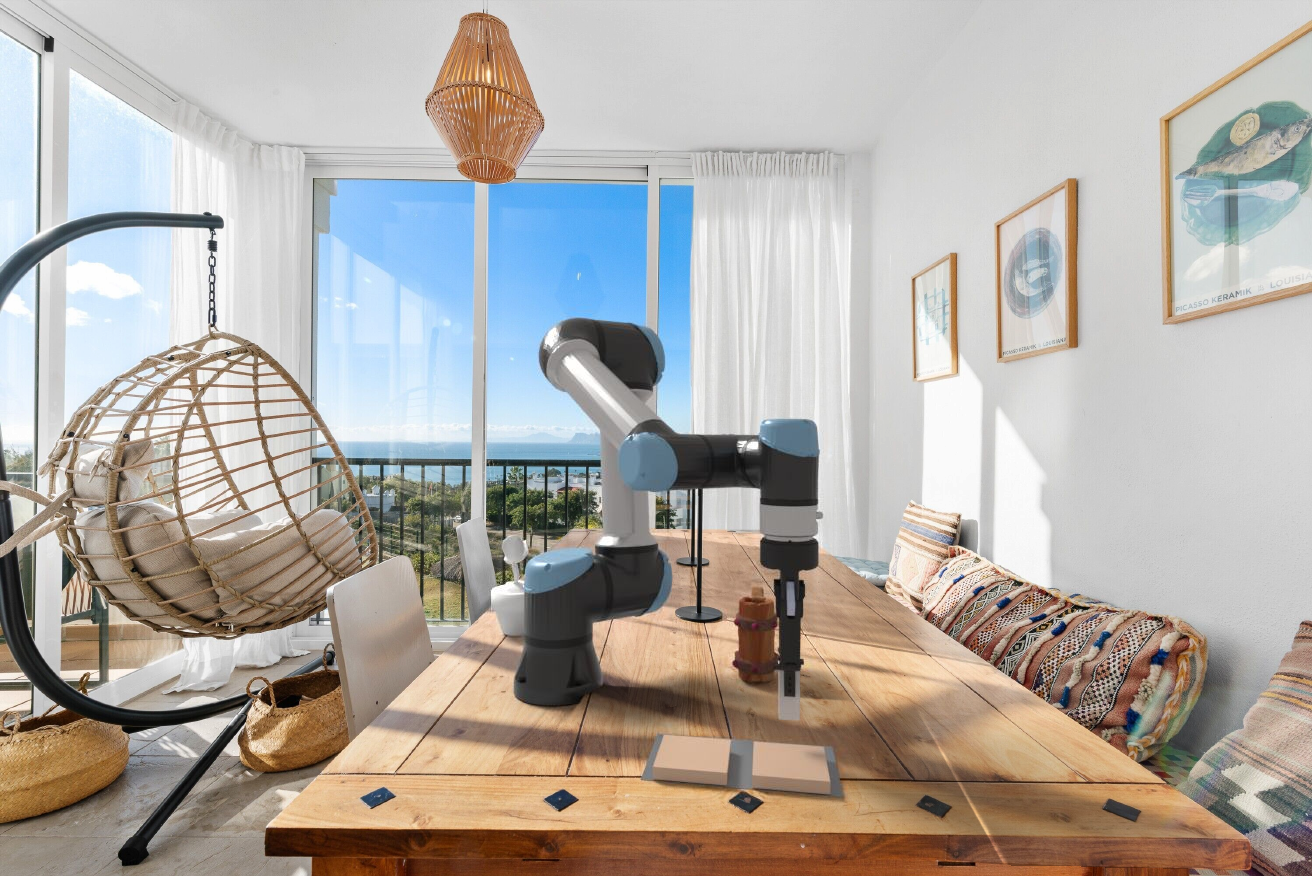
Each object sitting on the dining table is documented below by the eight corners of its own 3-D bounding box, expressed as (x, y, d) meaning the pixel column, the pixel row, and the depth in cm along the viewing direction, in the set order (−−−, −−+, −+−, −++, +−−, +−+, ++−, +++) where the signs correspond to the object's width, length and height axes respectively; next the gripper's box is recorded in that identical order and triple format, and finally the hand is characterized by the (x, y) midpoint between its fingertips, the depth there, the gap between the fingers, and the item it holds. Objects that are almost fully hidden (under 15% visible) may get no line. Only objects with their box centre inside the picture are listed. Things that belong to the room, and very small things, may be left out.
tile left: (663, 747, 90) (652, 780, 81) (664, 734, 90) (652, 766, 81) (730, 752, 88) (727, 786, 79) (730, 739, 88) (726, 773, 79)
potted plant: (534, 642, 141) (534, 524, 141) (482, 639, 143) (482, 522, 143) (552, 625, 153) (553, 517, 154) (504, 623, 155) (505, 516, 155)
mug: (778, 690, 114) (778, 602, 114) (730, 686, 115) (731, 599, 116) (780, 662, 128) (780, 584, 128) (737, 659, 130) (737, 582, 130)
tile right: (753, 754, 88) (752, 789, 79) (753, 741, 88) (752, 775, 79) (823, 759, 86) (830, 795, 77) (823, 746, 86) (830, 781, 78)
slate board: (640, 789, 81) (640, 779, 81) (657, 742, 94) (657, 733, 94) (843, 807, 77) (843, 797, 77) (832, 755, 90) (832, 746, 90)
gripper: (822, 545, 80) (823, 742, 80) (814, 530, 93) (814, 700, 93) (759, 543, 81) (759, 737, 81) (760, 529, 94) (760, 697, 94)
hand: (789, 717), depth 87 cm, fingers closed
